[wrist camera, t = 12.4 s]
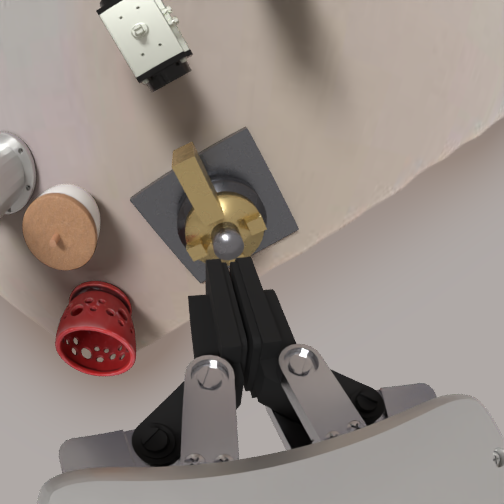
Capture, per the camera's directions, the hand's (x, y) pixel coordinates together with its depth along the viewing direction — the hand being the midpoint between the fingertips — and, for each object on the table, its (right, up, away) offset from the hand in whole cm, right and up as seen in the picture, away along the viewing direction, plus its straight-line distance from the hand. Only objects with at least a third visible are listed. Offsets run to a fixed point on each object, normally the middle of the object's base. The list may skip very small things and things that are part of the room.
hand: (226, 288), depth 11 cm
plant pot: (-25, -7, +35) cm, 44 cm away
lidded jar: (-24, +8, +25) cm, 36 cm away
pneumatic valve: (-10, +26, +15) cm, 32 cm away
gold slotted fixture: (-4, +7, +25) cm, 26 cm away
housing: (-4, +7, +31) cm, 32 cm away
